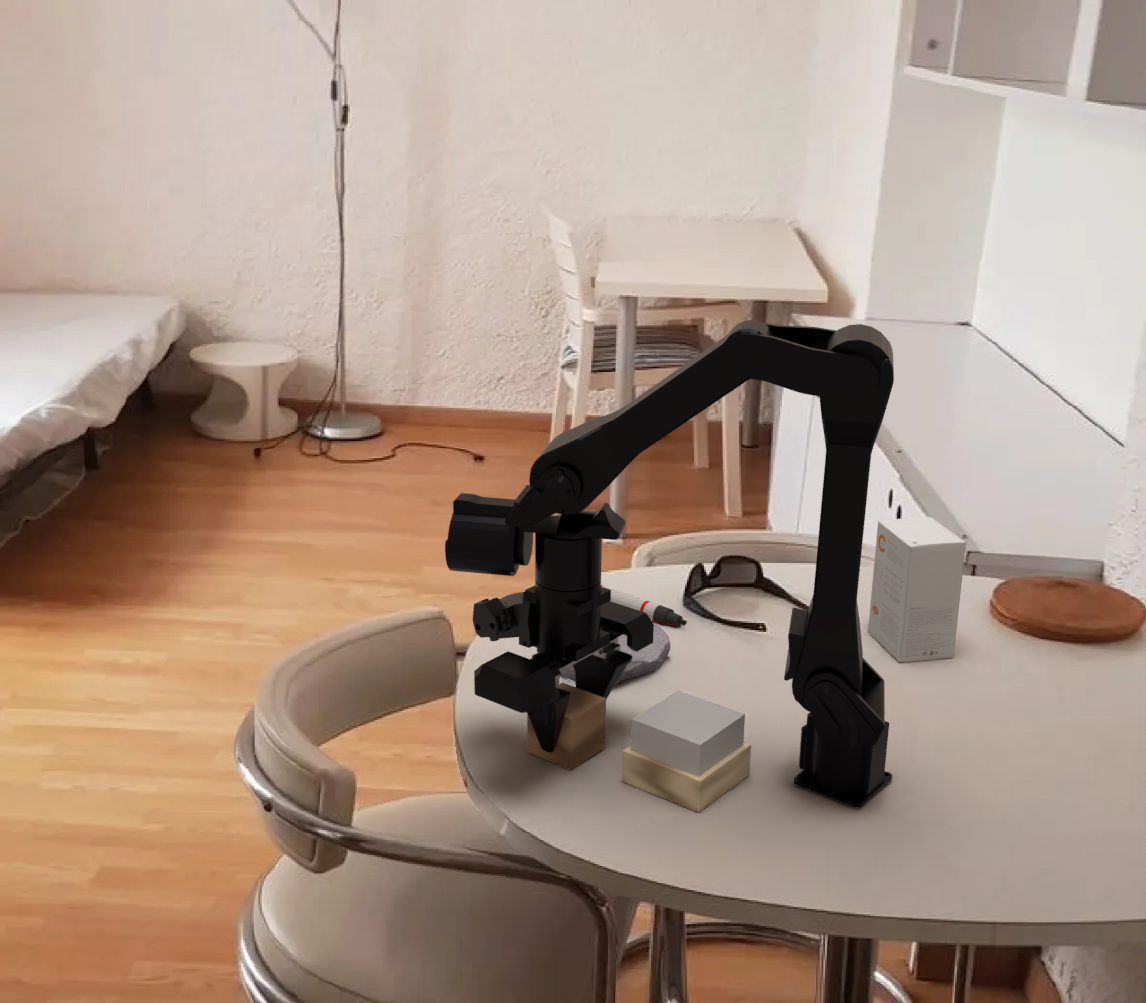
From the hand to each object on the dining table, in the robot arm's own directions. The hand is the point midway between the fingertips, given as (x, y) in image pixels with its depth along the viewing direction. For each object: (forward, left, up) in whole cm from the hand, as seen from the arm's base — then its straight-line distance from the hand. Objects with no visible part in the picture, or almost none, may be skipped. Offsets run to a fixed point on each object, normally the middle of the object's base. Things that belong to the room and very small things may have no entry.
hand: (566, 739), depth 126 cm
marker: (+14, -29, -2) cm, 33 cm away
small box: (-14, -41, -1) cm, 43 cm away
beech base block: (-11, -3, -1) cm, 11 cm away
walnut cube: (0, 0, -1) cm, 1 cm away
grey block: (-11, -3, +2) cm, 12 cm away
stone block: (+8, -17, -2) cm, 19 cm away
